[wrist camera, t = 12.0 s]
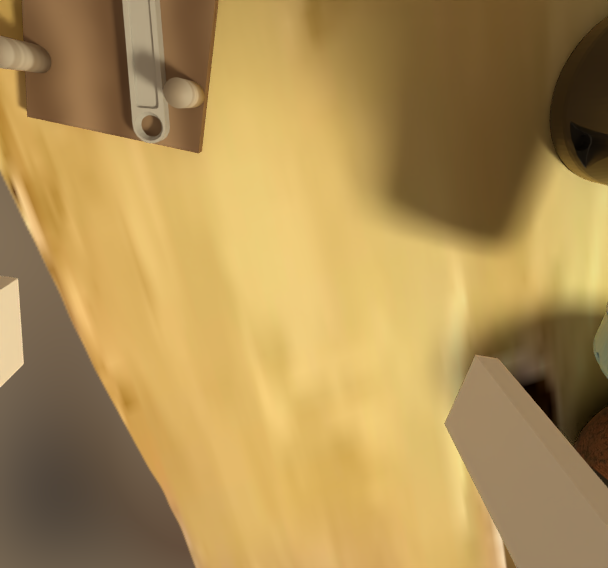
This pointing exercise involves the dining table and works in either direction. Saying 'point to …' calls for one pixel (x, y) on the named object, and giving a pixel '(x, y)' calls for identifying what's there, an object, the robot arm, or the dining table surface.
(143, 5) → the adjustable wrench
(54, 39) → the rack
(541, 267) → the dining table surface
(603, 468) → the pottery
